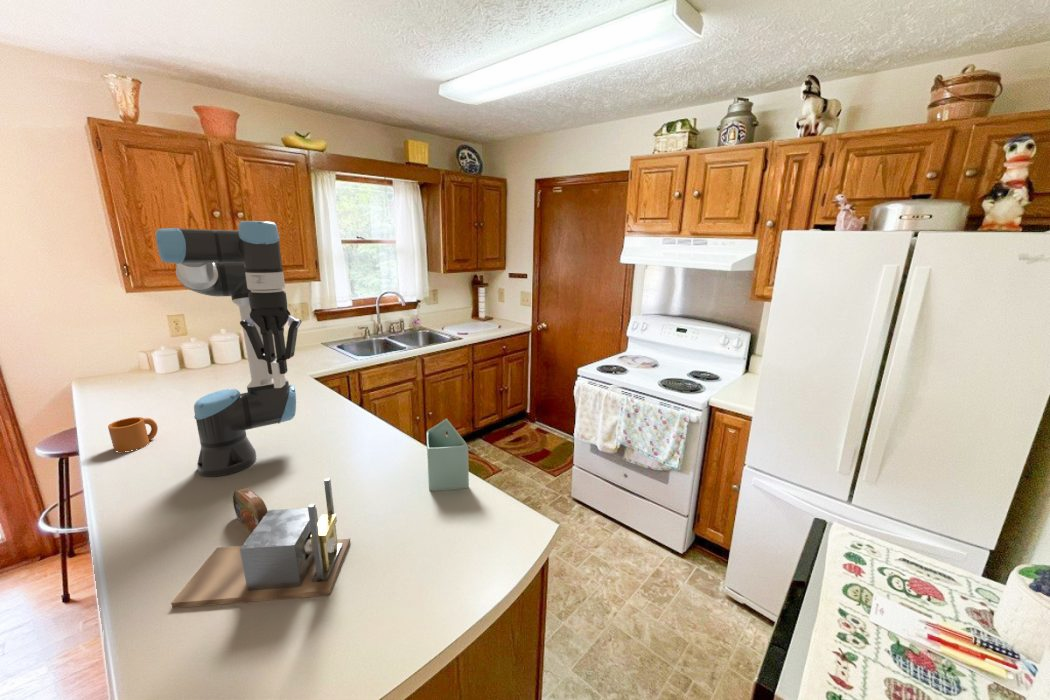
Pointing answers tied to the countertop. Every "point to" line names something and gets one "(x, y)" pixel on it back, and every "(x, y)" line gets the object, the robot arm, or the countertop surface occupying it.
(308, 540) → the pin
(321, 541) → the bracket
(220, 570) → the board
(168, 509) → the countertop surface
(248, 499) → the tin
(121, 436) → the mug
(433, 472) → the planter
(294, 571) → the block
